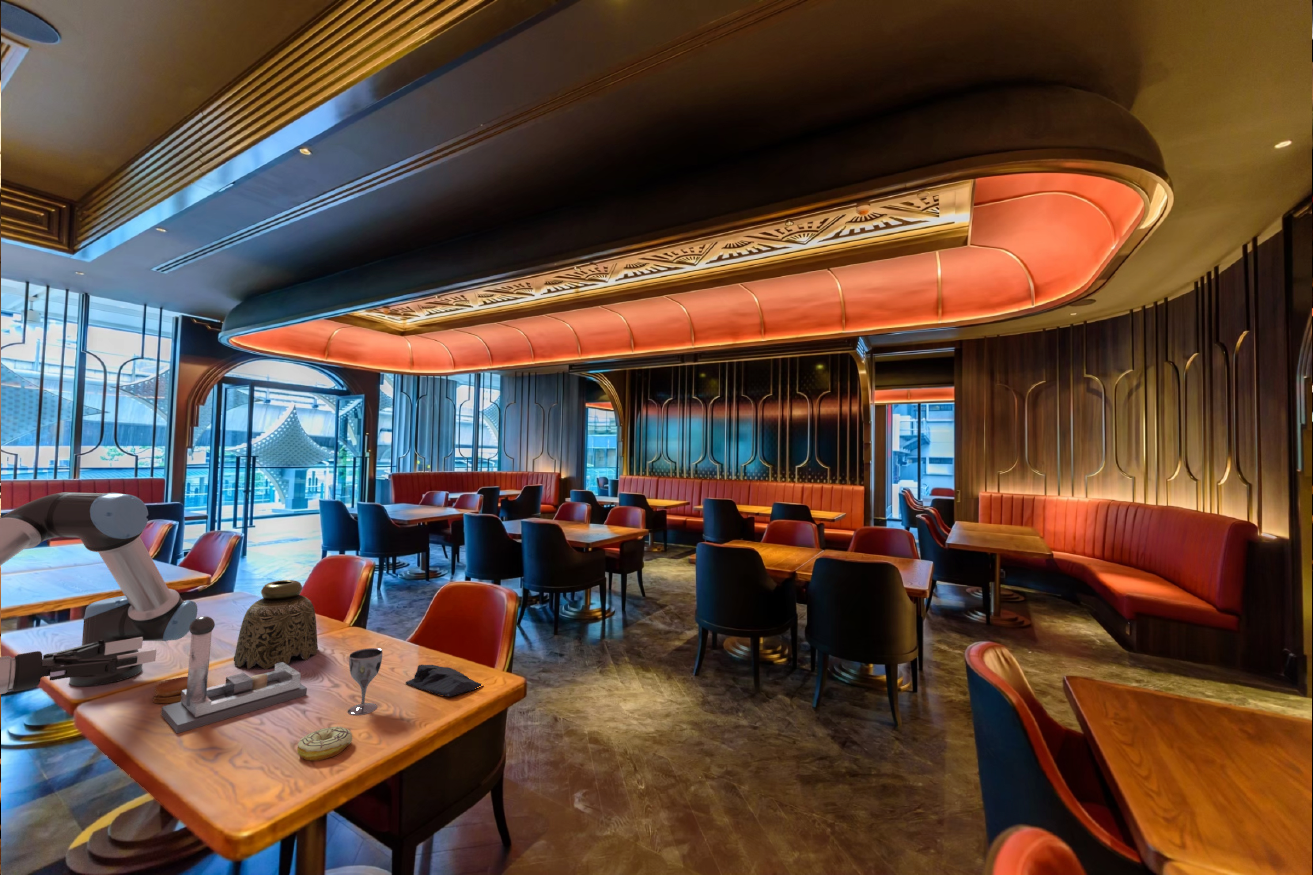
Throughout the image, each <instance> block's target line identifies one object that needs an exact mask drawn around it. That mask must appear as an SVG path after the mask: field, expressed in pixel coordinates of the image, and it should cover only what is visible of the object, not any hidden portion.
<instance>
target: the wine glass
mask: <svg viewBox="0 0 1313 875" xmlns="http://www.w3.org/2000/svg"><path fill="white" fill-rule="evenodd" d="M348 660H349V661H348V665H349V667H348V668H349V673H350V676H351V678H352V680H354V681H355V682H356V683H357V684H358V685H359V687H360V689H361V690H360V692H361V700H360V703H359V704H356V705H353V706H351V707H350V708H349V709H347V714H348V715H350V716H363V715H368V714H370V713H372V712H374V711H376V710H377V709H378V705H377V704H376V703H373V702H365V701H366V692H367V688H368V686H369V684H371V682H372V681H373V680H374V678H376V677H377V675H378V674H379V672H380V669H381V666H382V660H383V650H382V649H381V648H375V647H374V648H373V647H372V648H361V649H358V650H355V651H353V652H351V653H350V654H349V658H348Z"/></svg>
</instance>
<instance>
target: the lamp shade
mask: <svg viewBox="0 0 1313 875" xmlns="http://www.w3.org/2000/svg"><path fill="white" fill-rule="evenodd" d="M302 591H303V584H302V583H301V582H300V581H297V580H294V579H293V580H292V579H284V580H283V579H281V580H276V581H271V582H267V583H266V584H264V586H263V587H262V589H261V591H260V594H261V596H262V598H260V599H258V600H257V601H255V602H253V604H251V605H250V606H249V608H248V609H247V610H246V612H245V613H244V616H243V619H242V622H241V625H240V628H239V632H238V633H239V634H238V639H237V642H236V647H235V652H234V656H233V662H234V666H237V667H239V668H241V667H243V666H244V665H245V663H246V666H247V667H246V668H247V669H248V670H250V669H251V668H253V667H255V666H256V664H257V665H258V666H259V667H261V668H262V669H263V670H268V669H270V668H272V667H275V664H277V663H281V662H284V663H285V664H287V665H289V664H290V662H291V658H292V657H298V656H299V655H300V656H301V659H302V660H304V661H307V660H308V659H309V658H310V656H311V655H313V656H316V655H317V653H318V649H319V646H318V630H317V617H316V610H315V607H314V604H313V602H312V600H310V599H309V598H308V597H306V596H304V595H301V593H302Z"/></svg>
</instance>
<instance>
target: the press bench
mask: <svg viewBox="0 0 1313 875" xmlns="http://www.w3.org/2000/svg"><path fill="white" fill-rule="evenodd" d="M279 683H281V682H279V681H278V680H273V681H269V682H267V687H268V686H272V685H276V684H279ZM307 692H308V688H307V687H306V686H305V685H303V684H302V683H300V688H297V689H293V690H290V691H286V692H282V693H279V694H275V695H272V696H268V697H265V698H261V699H258V700H254V701H251V702H247V703H244V704H240V705H237V706H233V707H230V708H226V709H223V710H219V711H216V712H212V713H209V714H205V715H201V716H198V717H194V715H193V714H192V713H191V712H190V711H189V710H188V709H187V708H186V707H185V706H184V705H183V704H182V703H181V701H180V702H176V703H169V704H167V705H163V706H161V711H160V713H161V714H160V715H161V716H162V718H163V719H164V720H165V721H166V722H167V723H168V725H169V726H170V727H171V729H173V731H174V732H175V733H176V734H179V733H184V732H186V731H191V730H194V729H197V728H200V727H204V726H208V725H210V724H214V723H217V722H221V721H224V720H226V719H227V720H228V719H230V718H231V719H232V718H233V717H237V716H241V715H245V714H248V713H251V712H254V711H257V710H260V709H264V708H265V709H266V708H267V707H271V706H275V705H278V704H281V703H284V702H288V701H292V700H295V699H298V698H302V697H304V696H307ZM224 698H227V697H225V693H224V694H220V695H216V696H212V697H209V699H210V700H211V702H213V701H216V700H220V699H224Z"/></svg>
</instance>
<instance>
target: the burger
mask: <svg viewBox="0 0 1313 875" xmlns="http://www.w3.org/2000/svg"><path fill="white" fill-rule="evenodd" d="M187 680H188V676H181V677H176V678H170V679H165V680H164V681H161V682H160V683H158V684H157V685H156V686H155V688H154V692H153V693H154V694H155V695H154V696H153V700H152V701H153V703H155V704H174V703H178V702H181V693H182V690H186V689H187Z"/></svg>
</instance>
